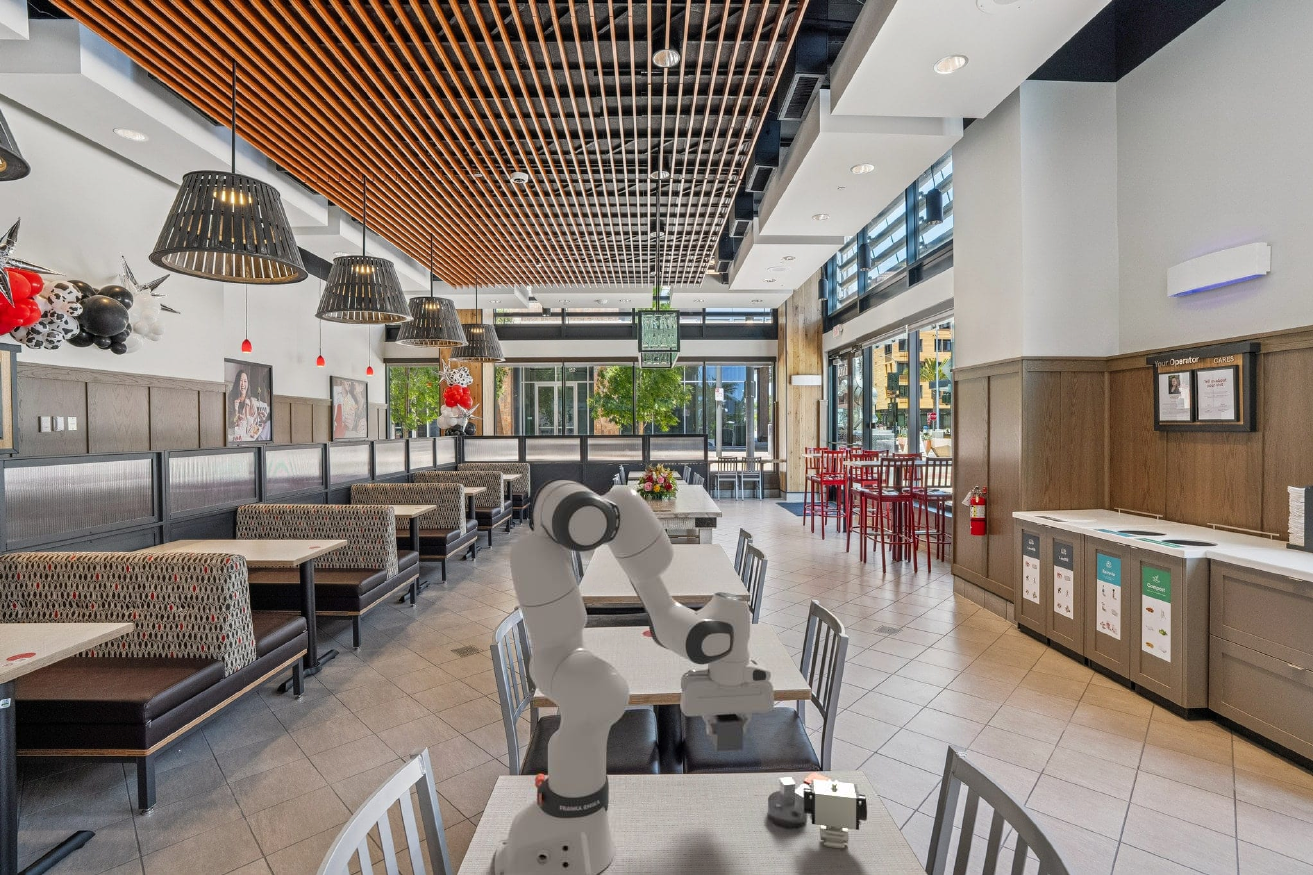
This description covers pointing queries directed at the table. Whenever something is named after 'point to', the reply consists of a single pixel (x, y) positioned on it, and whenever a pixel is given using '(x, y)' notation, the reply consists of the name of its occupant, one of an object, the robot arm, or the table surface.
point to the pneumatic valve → (834, 810)
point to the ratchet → (790, 803)
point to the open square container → (727, 732)
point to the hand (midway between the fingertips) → (726, 732)
